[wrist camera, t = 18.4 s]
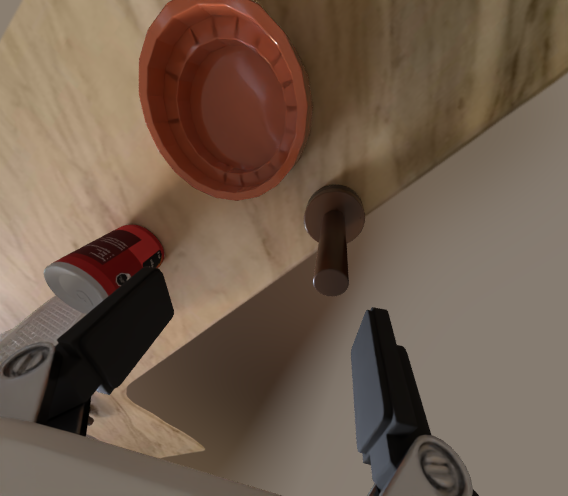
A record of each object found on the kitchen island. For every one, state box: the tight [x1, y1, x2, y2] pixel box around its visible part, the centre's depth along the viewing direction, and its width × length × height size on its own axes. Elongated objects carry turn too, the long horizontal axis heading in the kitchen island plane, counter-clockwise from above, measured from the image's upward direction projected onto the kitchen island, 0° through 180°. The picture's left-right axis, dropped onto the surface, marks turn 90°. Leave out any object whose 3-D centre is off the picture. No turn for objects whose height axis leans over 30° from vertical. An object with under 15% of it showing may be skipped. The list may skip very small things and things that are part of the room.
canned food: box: [44, 225, 164, 314], centre depth 31 cm, size 8×8×11 cm
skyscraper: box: [0, 295, 87, 365], centre depth 30 cm, size 8×8×28 cm
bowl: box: [139, 0, 313, 201], centre depth 21 cm, size 15×15×5 cm
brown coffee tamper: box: [304, 185, 365, 296], centre depth 21 cm, size 6×6×13 cm
